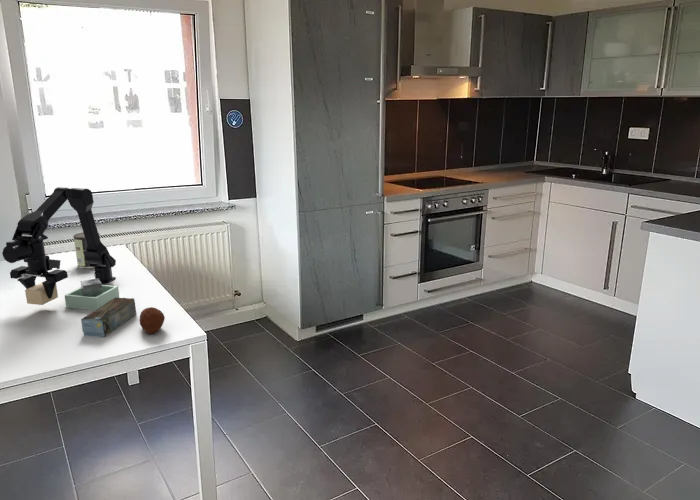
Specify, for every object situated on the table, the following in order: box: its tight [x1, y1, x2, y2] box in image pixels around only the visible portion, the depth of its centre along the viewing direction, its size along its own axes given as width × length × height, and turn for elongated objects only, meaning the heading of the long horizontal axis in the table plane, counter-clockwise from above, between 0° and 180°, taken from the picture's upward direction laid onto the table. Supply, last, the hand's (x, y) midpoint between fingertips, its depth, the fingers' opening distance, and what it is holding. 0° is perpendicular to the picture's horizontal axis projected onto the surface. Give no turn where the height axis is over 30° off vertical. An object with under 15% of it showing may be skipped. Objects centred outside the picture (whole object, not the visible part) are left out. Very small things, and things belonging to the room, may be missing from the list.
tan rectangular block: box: [24, 282, 59, 306], centre depth 186 cm, size 8×6×5 cm
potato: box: [139, 306, 166, 335], centre depth 171 cm, size 8×12×8 cm, turn 38°
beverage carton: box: [80, 297, 137, 338], centre depth 175 cm, size 8×19×7 cm, turn 171°
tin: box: [80, 278, 103, 297], centre depth 194 cm, size 6×6×7 cm
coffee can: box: [72, 232, 101, 269], centre depth 235 cm, size 10×10×14 cm
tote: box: [64, 284, 120, 311], centre depth 194 cm, size 13×13×4 cm
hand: (42, 297), depth 186 cm, fingers closed on tan rectangular block, 6 cm apart
